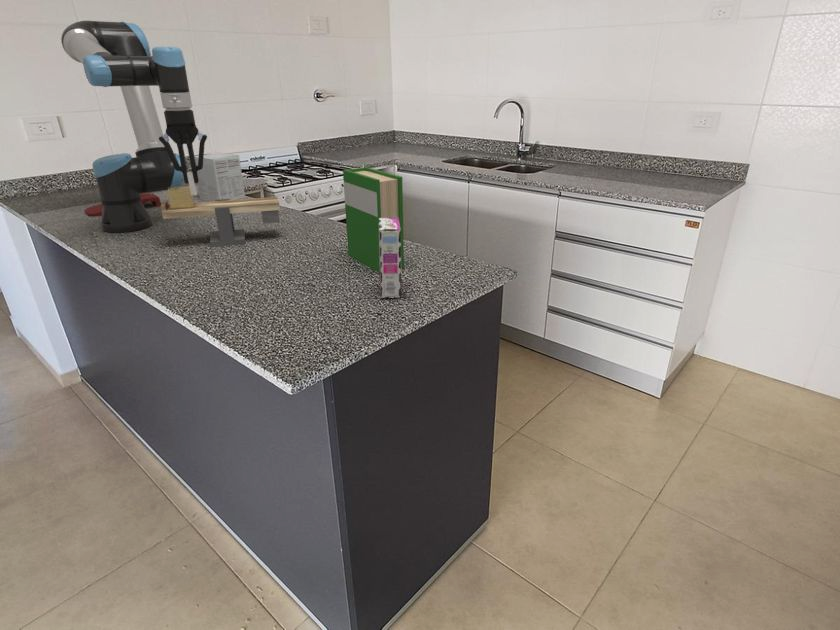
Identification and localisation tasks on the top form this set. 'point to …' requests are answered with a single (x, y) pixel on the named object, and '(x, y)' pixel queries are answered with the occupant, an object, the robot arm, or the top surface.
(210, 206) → the beam
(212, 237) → the pivot stand
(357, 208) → the hardback book
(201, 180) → the supplement box
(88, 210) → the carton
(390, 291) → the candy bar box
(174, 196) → the rider
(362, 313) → the top surface
